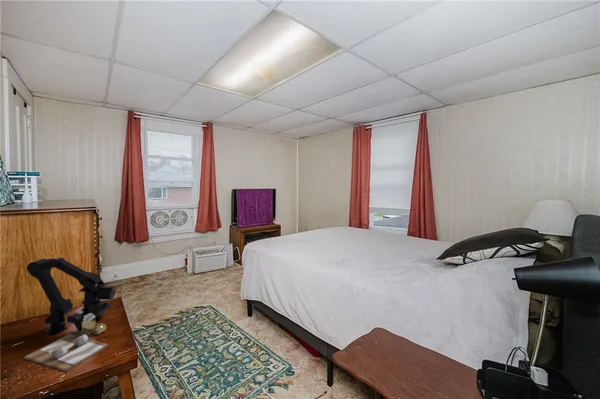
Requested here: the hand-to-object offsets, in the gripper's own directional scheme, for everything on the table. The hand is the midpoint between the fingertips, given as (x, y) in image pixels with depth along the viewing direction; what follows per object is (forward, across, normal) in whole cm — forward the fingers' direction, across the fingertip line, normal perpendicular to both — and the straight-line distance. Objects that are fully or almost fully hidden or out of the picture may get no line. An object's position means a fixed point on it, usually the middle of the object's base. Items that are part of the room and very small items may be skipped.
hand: (89, 327), depth 134 cm
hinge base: (+2, -16, -8) cm, 18 cm away
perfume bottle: (+2, 0, -3) cm, 3 cm away
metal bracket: (+2, +9, +12) cm, 15 cm away
